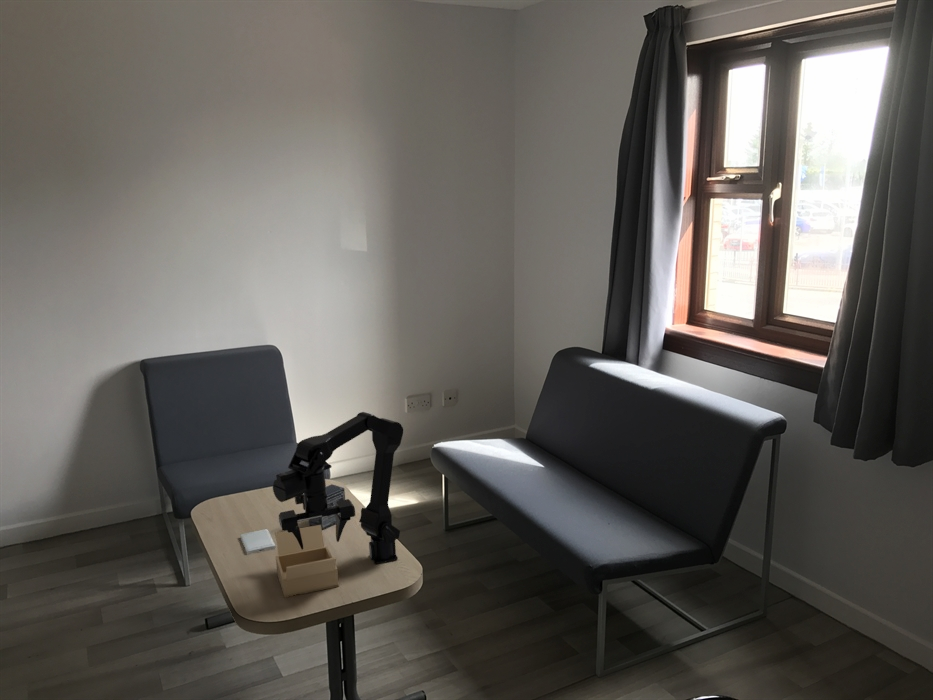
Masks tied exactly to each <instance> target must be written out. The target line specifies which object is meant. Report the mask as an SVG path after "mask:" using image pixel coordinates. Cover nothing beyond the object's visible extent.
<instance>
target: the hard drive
mask: <svg viewBox="0 0 933 700" xmlns="http://www.w3.org/2000/svg"><path fill="white" fill-rule="evenodd" d="M273 539H274V538H272V535H271V533H270V531H269V530H268V528H267V529H266V528H264V529H260V530H255V531H251V532H250V531H249V532H245V533H242V534H240V540H241V542H242V545H243V548H244V547H245V548H244V550H245V553H246V555H247V554H248V555H252V554H251V553H253V554H257V553H261V551H262V552H266V551H265V550H267V551H270V549H271V550H275V548H276V549H277V545H276V544H275V541H274V540H273ZM256 552H257V553H256Z"/></svg>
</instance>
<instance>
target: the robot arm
mask: <svg viewBox="0 0 933 700" xmlns="http://www.w3.org/2000/svg"><path fill="white" fill-rule="evenodd" d="M367 431H370V432H371V434H372V435H371V440H372V443H373V445H374V449H375V457H374V459H375V460H374V465H373V467H374V468H373V475H372V483H371V489H370V490H371V491H370V500H369V503H368V504H367V506H365V507H362V508H361V509H360V518H359V523H360V528H361V529H362V530H363V531H364V532H365V534H366V536H369V537H370V541H369V542H368V548H369V550H368V552H369V557H370V559H371V560H372V561H373V563H374V564H375V565H377V564H383V563H387V562H392V561H396V560H398V556H397V553H396V550H397V548H396V540H398V539H399V538H400V534H401V530H400V529H398V528H397V527H396V526H394V525H393V524H392V523H393V521H392V520H393V519H392V518H393V516H392V515H393V514H392V512H391V509H390V506H389V498H390V489H391V480H392V471H393V465H394V457H395V456H394V455H395V453H396V451H397V450H398V448H399V447H400V446H401V445H402V444H401V443H402V440H403V435H404V426H403V425H402V424H401V423H400V422H398V421H394V420H391V419H388V418H385V417H384V418H383V417H380V418H379V417H378V416H376V415H374V414H373V413H368V412H365V411H362V412H358V413H357V414H356V416H354V417H352V418H351V419H348V420H347V421H345V422H343V423H342V424H340V425H338V426H337V427H335V428H333V429H331V430H330V431H328V432H326V433H324V434H322V435H315V436H310V437H308V438H304V439H303V440H300V441H299V442H298V443H297V445H296V448H295V451H294V454H293V456H292V458H291V461H290V462H289V464H288V467H287V468H288V469H289V470H288V471H285V472H281V473H278V474H276V475H275V476H276V477H275V478H276V479H274V481H273V484H272V492H273V494H274V496H275V499H277V501H278V502H280V503H283V502H287V501H289V500H291V499H294V503H295V505H302V509H303V511H305V512H301V513H296V512H295V510H294V509H291V510H287V511H286V510H285V511H280V513H279V514H278V522H279V526H280V528H281V530H282V531H288V532H289V533H290V532H292V533H293V534H294V536H295V537H296V539H297V540H298V543H299V545H300V547H301V549H303V542H302V538H301V533H300V527H299V522H303V521H309V519H314V518H319V517H324V516H329V515H334V514H335V516H336V524H335V539H336V543H339V542H340V539H341V537H342V533H343V530H344V528H345V526H346V524H347V523H348V521H350V520H351V518H353V517H355V516H356V509H355V506H354V504H353V503H352V501H351V500H350V499H349V498H347V499H346V498H345V500H341V501H336V503H335V507H330V508H328V504H327V494H326V487H327V484H326V475H325V474H326V473H325V471H326V470H329V469H331V468H332V465H331V464H329V463H328V462H327V461H328V460H329V459H330V458H331V457H332V455H333V453H334V451H336V450H337V449H338V448H340V447H342V446H343V445H345V444H347V443H348V442H350V441H352V440H354V439H355V438H357V437H358V436H361V435H362V434H363V433H365V432H367ZM301 462H302V463H304V464H307V466H306V465H304V464H301Z"/></svg>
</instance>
